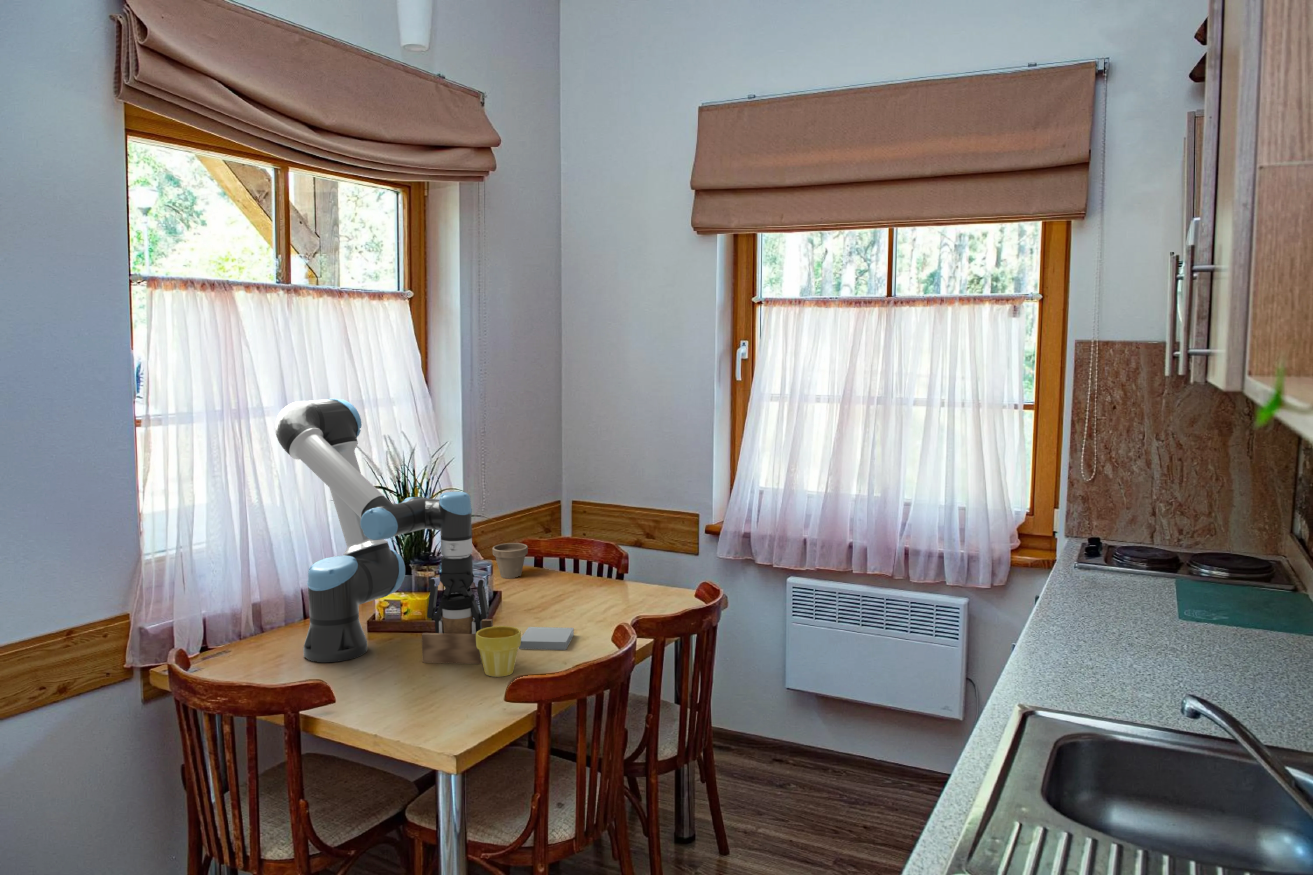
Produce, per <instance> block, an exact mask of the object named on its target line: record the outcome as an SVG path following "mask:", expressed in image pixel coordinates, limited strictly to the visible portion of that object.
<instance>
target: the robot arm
mask: <svg viewBox="0 0 1313 875" xmlns="http://www.w3.org/2000/svg"><path fill="white" fill-rule="evenodd" d="M361 428H362V418H361V415H360V413H359V411H358V410H357V408H356V407H355V406H354V405H353V404H352V403H351V402H349V401H347V400H345V399H342V398H339V399H338V398H327V399H316V400H315V399H313V400H300V401H298V400H297V401H294V402H291V403H289V404H288V405H286V406H284V408H282V409H281V410H280V411H279V413H278V415H277V418H276V420H275V424H274V430H275V435H276V438H277V441H278V443H279V445H280V446H281V448H282V449H283V450H284V451H285V452H286V453H287V455H289V456H290V457H291V458H292V459H294V460H300V461H301V462H302V463H303V464H305V466H307V468H309V470H311V472H312V473H314V474H315V475H316V476H317V477H318V478H319V479H320V480H321V481H322V482H323V483H324V484H325V485H326V486H327V487H328V488H329V490H330V493H331V497H332V500H333V505H334V508H335V510H336V511H335V512H336V514H337V517H338V521H339V524H340V527H341V530H342V534H343V538H344V541H345V544H346V549H345V550H344V553H343V554H342V555H335V556H332V557H330V556H329V557H325V558H322V559H320V560H317V561H316V562H314V563H313V564H312V565H310V567H309V568H308V572H307V573H308V574H307V581H306V582H307V590H308V593H307V594H308V610H309V611H308V612H309V627H308V630H307V633H306V637H305V640H304V643H303V644H304V645H303V647H302V648H303V649H302V650H303V658H304V657H306V658H307V659H309V660H308V661H310V660H311V662H314V661H317V662H316V663H337V662H343V661H349V660H352V659H355V658H358V657H360V656H363V655H364V654H366V653H367V652H368V640H367V637H366V634H365V631H364V630H363V627H362V624H361V622H360V612H359V611H360V609H359V608H360V605H362V604H366V603H368V602H371V601H375V600H377V599H382V598H383V599H384V598H385V597H388V596H390V595H392V594H394V593H395V592H397V591H398V590H399V589H400V588H401V587H402V584H403V582H404V580H405V575H406V565H405V562H404V559H403V557H402V556H401V554H399V553H398V551H397V550H394V549H391V548H390V546H389V542H388V540H387V539H391V538H394V537H397V536H400V535H405V534H409V533H412V532H413V533H414V532H418V531H421V530H426V529H427V530H434V531H436V530H437V531H439V532H440V552H441V553H440V554H441V555H442V556H441V558H440V559H441V560H440V561H441V562H440V564H441V567H440V568H441V574H440V576H439V577H436V576H433V577H431V578H430V579H429V580H428V583H429V588H430V590H429V598H428V606H427V614H426V615H427V616H426V617H427V618H428V619H432V620H434V631H435V632H434V633H444V628H443V620H442V619H441V618H442V615H443V612H442V608H441V607H440V606H441V605H440V604H441V601H440V602H439V604H438V608H436V607H437V598H438V592H439V585H440V584H441V585H443V586H444V588H445V589H444V591H443V593H442V596H441V598H444V599H446V600H448V599H449V597H450V595H451V594H454V593H463V596H464V597H465V598H466V597H470V596H471V595H472V594H473V590H472V588H471V586H472V585H473V583H474V585H475V587H476V588H477V590H476V591H477V596H478V602H479V603H478V602H476V601H477V600H476V599H475V598H474V601H472V600H471V601H472V608H471V612H472V615H473V617H474V618H473V619H474V620H473V621H472V634H476V632H477V631H479V630H481V629H482V620H483V619H488V617H489V616H490V612H489V606H488V600H487V595H486V587H485V586H486V578H485V577H481V578H480V577H475V575H474V571H473V569H474V568H473V556H472V555H471V554H472V553H473V534H472V512H473V509H472V501H471V496H470V494H469V493H468V492H464V491H448V492H447V491H446V492H443V493H441V494H440V496H439V499H438V498H437V499H436V498H427V497H422V496H416V497H415V496H409V497H406V498H405V499H404V500H402V501H401V502H398V503H392V502H391V500H389V499H388V498H387V497H386V496H385V495H384V494H383V493H382V492H380V491H379V489H377V487H376V486H374V485H373V484H372V483H371V482H370V481H369V480H368V479H367V478H366V477H365V476H364V475H363V474H362V473H361V470H360V469H361V468H360V466H359V463H358V458H357V456H356V455H357V454H356V452H355V450H356V447H357V446H358V444H359V441H358V437H359V436H360V434H361ZM478 604H479V606H478ZM479 608H480V609H479ZM436 609H437V610H436ZM307 659H306V660H307Z"/></svg>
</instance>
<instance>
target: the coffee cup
mask: <svg viewBox="0 0 1313 875" xmlns="http://www.w3.org/2000/svg"><path fill="white" fill-rule="evenodd" d="M474 599H475V596H474V594H473V593H472V595H471V596H470V597H466V598H465V597H464V596H463V593H451V595H450V597H449V599H448V600H446V599H444V598H442V597H441V599H440V602H441V604H440V603H439V605H441V606H440V607H441V608H442V612H443V615H442V617H441V618H442V620H443V628H444V633H451V634H472V621H473V619H474V617H473V615H472V612H471V608H472V601H474ZM471 600H472V601H471Z"/></svg>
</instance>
